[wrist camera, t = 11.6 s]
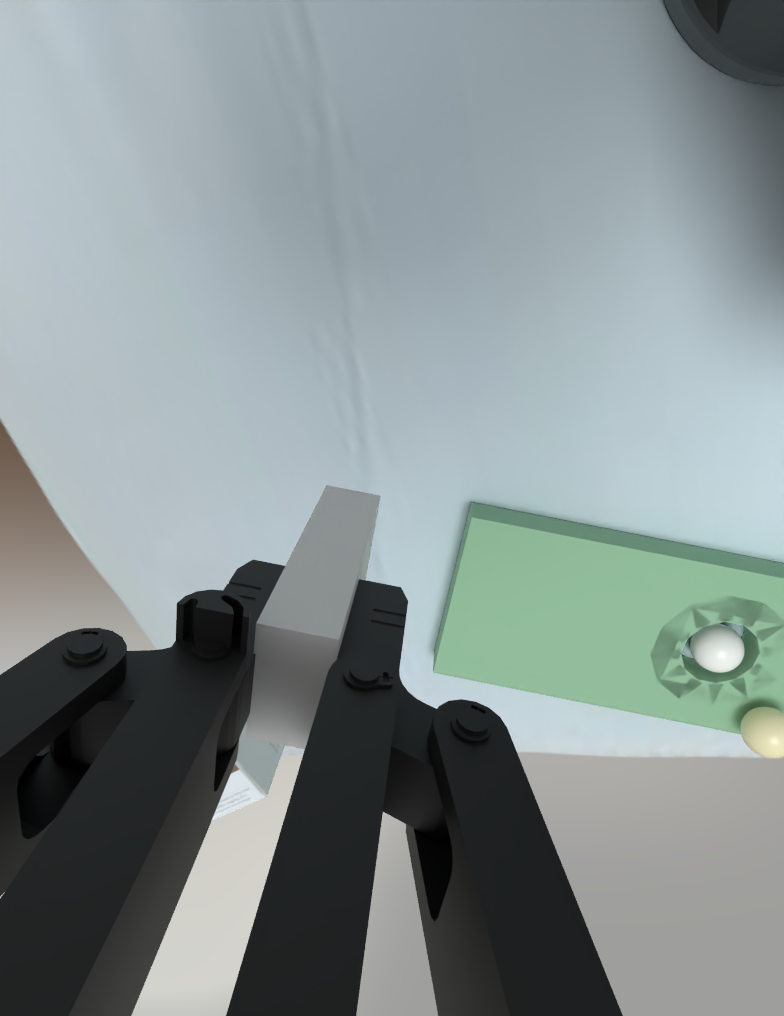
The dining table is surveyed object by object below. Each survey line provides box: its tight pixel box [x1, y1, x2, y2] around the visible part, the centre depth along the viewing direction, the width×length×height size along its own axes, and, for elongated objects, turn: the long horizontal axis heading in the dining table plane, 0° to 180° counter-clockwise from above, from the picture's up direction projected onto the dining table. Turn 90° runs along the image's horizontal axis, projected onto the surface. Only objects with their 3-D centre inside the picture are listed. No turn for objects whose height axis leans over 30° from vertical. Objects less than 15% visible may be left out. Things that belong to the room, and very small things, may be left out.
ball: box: [690, 624, 745, 673], centre depth 44 cm, size 3×3×3 cm
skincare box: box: [212, 721, 285, 821], centre depth 45 cm, size 6×4×12 cm
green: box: [433, 502, 784, 734], centre depth 44 cm, size 26×13×2 cm, turn 80°
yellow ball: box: [740, 707, 784, 758], centre depth 43 cm, size 3×3×3 cm
